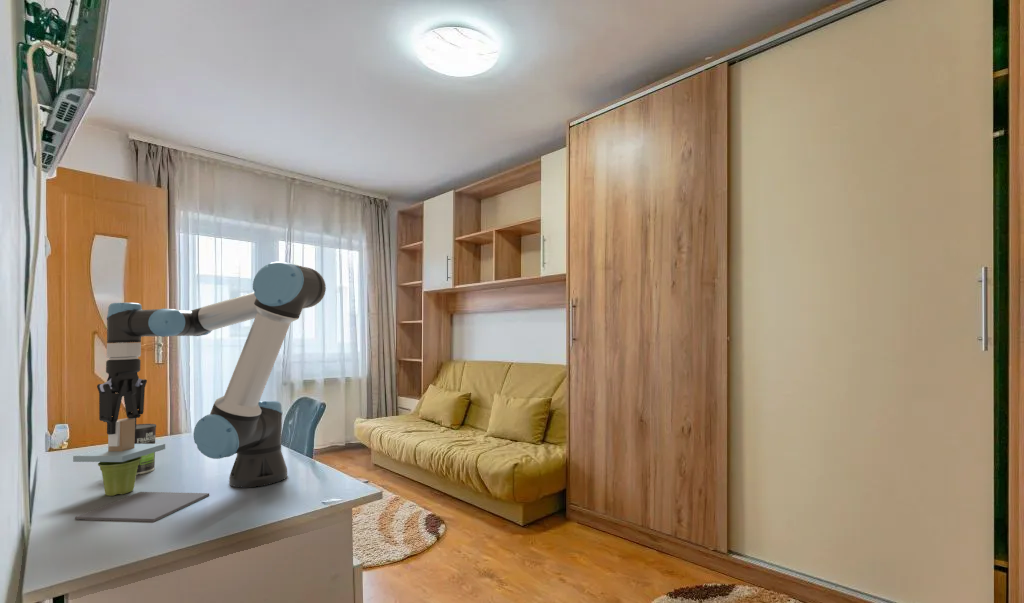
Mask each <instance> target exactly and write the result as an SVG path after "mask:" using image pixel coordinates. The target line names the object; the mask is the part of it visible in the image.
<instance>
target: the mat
mask: <svg viewBox="0 0 1024 603" xmlns="http://www.w3.org/2000/svg"><path fill="white" fill-rule="evenodd" d="M209 496H210V492H171V491H169V492H167V491H166V492H165V491H164V492H163V491H139V492H136V493H133V494H130V495H128V496H126V497H122V498H120V499H119V500H118V499H117V500H115V501H113V502H110V503H107V504H105V505H103V506H100V507H97V508H94V509H92V510H90V511H87V512H85V513H81V514H79V515H77V516H75V517H74V520H75V519H85V520H84V521H87V520H88V521H110V520H111V522H112V520H113V521H115V522H116V521H117V522H149V523H151V522H153V523H155V522H157V521H158V520H161V519H163V518H165V517H167V516H169V515H171V514H174V513H175V511H176V512H178V511H180V510H182V509H185V508H186V507H188V506H190V505H192V503H193V504H195V503H196V502H199V501H202V500H203V499H205V498H208V497H209ZM181 508H182V509H181ZM179 509H180V510H179ZM177 510H178V511H177ZM173 512H174V513H173Z"/></svg>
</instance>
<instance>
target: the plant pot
mask: <svg viewBox="0 0 1024 603" xmlns="http://www.w3.org/2000/svg"><path fill="white" fill-rule="evenodd" d="M141 459H142V457H137V458H134V459H131V460H127V461H124V462H97V466H99V470H100V471H101V476H102V482H103V487H104V495H105V496H109V497H114V496H116V495H126V494H128V493H131V492H132V491H134V489H135V483H136V479H137V478H136V477H137V475H136V473H137V468H138V465H139V462H140V460H141Z"/></svg>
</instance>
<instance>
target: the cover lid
mask: <svg viewBox="0 0 1024 603" xmlns="http://www.w3.org/2000/svg"><path fill="white" fill-rule="evenodd" d="M117 421H120V446H108V445H107V446H106V447H103V448H98V449H95V450H91V451H88V452H87V451H86V452H84V453H80V454H75V455H72V456H73V457H72V458H73V460H72V461H73V462H75V463H84V462H85V463H94V462H95V463H99V462H124V461H127V460H131V459H134V458H137V457H141V456H144V455H147V454H151V453H154V452H155V453H156V452H160V451H164V450H166V443H155V444H135V419H126V418H118V420H117Z"/></svg>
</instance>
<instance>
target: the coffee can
mask: <svg viewBox="0 0 1024 603" xmlns="http://www.w3.org/2000/svg"><path fill="white" fill-rule="evenodd" d="M156 431H157V424H154V423H138V424H137V423H136V429H135V444H156ZM141 457H142V459H141V460H140V462H139V465H138V468H137V473H136V476H137V475H138V474H140V475H144V474H148V473H151V472H153V471H154V470H156V468H155V466H156V465H155V462H156V460H155V459H156V452H154V453H151V454H147V455H144V456H141ZM138 476H139V475H138Z"/></svg>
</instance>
